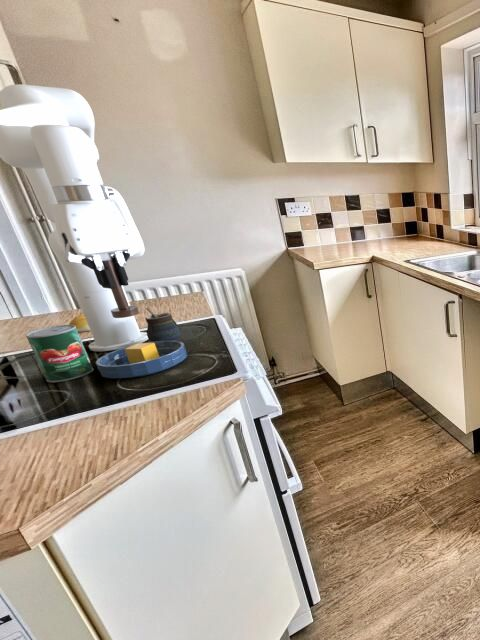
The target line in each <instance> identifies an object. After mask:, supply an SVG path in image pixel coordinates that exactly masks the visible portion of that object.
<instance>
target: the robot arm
mask: <svg viewBox="0 0 480 640" xmlns="http://www.w3.org/2000/svg"><path fill="white" fill-rule="evenodd" d="M0 105H1V107H2V109H0V159H1V160H2V161H3V162H4V163H6V164H7V165H9V166H11V167H13V168H17V169H21V170H22V171H23V173H24V174H25V176H26V178H27V179H28V182H29V184H30V186H31V188H32V190H33V192H34V194H35V197H36V199H37V201H38V203H39V206H40V207H41V209H42V211H43V213H44V215H45V217H46V218H47V219H48V220H49V221H50V222H51V223H53V224H54V225H55V228H56V229H54V230H53V231H51V232H50V233H49V235H48V244H49V246H50V248H51V251H52V252H53V253H54V255H55V257H56V259H57V260H58V262H59V263H60V265H61V266H62V268H63V270H64V272H65V274H66V276H67V278H68V280H69V282H70V284H71V287H72V290H73V292H74V294H75V297H76V299H77V301H78V304H79V306H80V309H81V312H82V313H83V314H82V315H84V316H85V318H86V321H87V323H88V326H89V328H90V331H89V332H90V334H91V335H92V337H93V340H94V341H92V342H91V343H89V344H88V348H89V351H92V352H112V351H116V350H119V349H122V348H125V347H129V346H133V345H136V344H138V343H146V341H149V339H148V337H147V332H145V331H141V330H140V328H139V325H138V322H137V320H136V317H135V315H134V316H130V317H125V318H114V317H113V316H112V313H111V310H112V309H115V308H118V306H117V304H116V301H115V298H114V296H113V293H112V291H111V289H112V288H114V287H115V286H114V283H113V280H112V278H111V275H110V272H109V270H108V269H105V267H104V265H103V263H102V260H112V261H113V264H114V267H115V270H116V272H117V275H118V278H119V280H120V283H121V286H122V289H123V291H124V294H125V297H126V300H127V302H128V305H129V306H131V304H130V301H129V297H128V295H127V293H126V290H125V287H127V286H129V277H128V273H127V272H126V268H125V267H126V265H127V262H128V261H129V260H135V259H139V258H141V257H143V256H144V254H145V250H146V247H145V244H144V241H143V239H142V236H141V234H140V231H139V229H138V227H137V225H136V223H135V221H134V218H133V217H132V214H131V212H130V209H129V207H128V205H127V203H126V201H125V199H124V197H123V196H122V195H121V193H120V192H119V191H118V190H117V189H115V188H113V187H111V186H108V185H105V184H104V181H103V179H102V176H101V173H100V171H99V168H98V164H97V163H98V161H100V154H99V150H98V147H97V145H96V144H95V129H96V128H95V125H96V123H95V117H94V113H93V110H92V107H91V106H90V104H89V103H88V101H87V99H85V98H84V96H82V94H80V93H79V92H77V91H75V90H73V89H70V88H63V87H54V86H44V85H43V86H42V85H32V84H23V83H22V84H21V83H20V84H9V85H6V86H5V87H3V88H2V89H1V91H0Z"/></svg>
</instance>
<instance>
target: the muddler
mask: <svg viewBox="0 0 480 640" xmlns="http://www.w3.org/2000/svg"><path fill="white" fill-rule="evenodd" d="M102 263H103V265H104V267H105V269H108V270H109V272H110V275H111V278H112V280H113V283H114V286H115V287H114V288H112V289H111V291H112V293H113V296H114V298H115V301H116V304H117V306H118V308H115V309H112V310H111V313H112V316H113V317H114V318H125V317H130V316H134V317H135V316H137V315H139V314H140V310H139V307H138V306H137V305H130V306H129V305H128V302H127V300H126V297H125V294H124V291H123V289H122V286H121V283H120V280H119V278H118V275H117V272H116V270H115V267H114V264H113V261H112V260H102Z"/></svg>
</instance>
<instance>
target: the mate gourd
mask: <svg viewBox="0 0 480 640" xmlns="http://www.w3.org/2000/svg"><path fill="white" fill-rule="evenodd" d="M145 310H146V311H148V312H149V313H150V315H148V316H146V317H145V319H144V320H145V322H146V324H147V330H146V333H147V337H148V341H149V342H155V341H166V340H174V341H180V339H181V335H182V333H181V332H182V330H181V327H180V325H179V324H177V322H176V321H175V320H174V319H173V316H172V313H170V312H161V313H156V314H155V313H154V312H153V311H152V310H151V309H150V308H149V307H145Z"/></svg>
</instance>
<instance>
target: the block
mask: <svg viewBox="0 0 480 640" xmlns="http://www.w3.org/2000/svg"><path fill="white" fill-rule="evenodd" d="M125 351H126V354H127V357H128V359H129V362H130V364H134V363H139V362H144V361H148V360H152V359H155V358H159V354H158V352H157V349H156V346H155V343H148V342H142V343H138V344H136V345H133V346H131V347H129V348H126V349H125Z"/></svg>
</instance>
